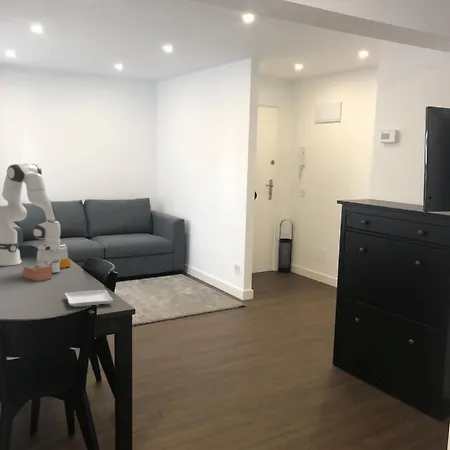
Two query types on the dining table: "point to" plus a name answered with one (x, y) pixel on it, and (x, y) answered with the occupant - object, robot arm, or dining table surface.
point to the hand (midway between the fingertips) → (52, 267)
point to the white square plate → (88, 298)
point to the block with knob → (54, 266)
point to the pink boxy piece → (38, 273)
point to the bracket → (64, 263)
